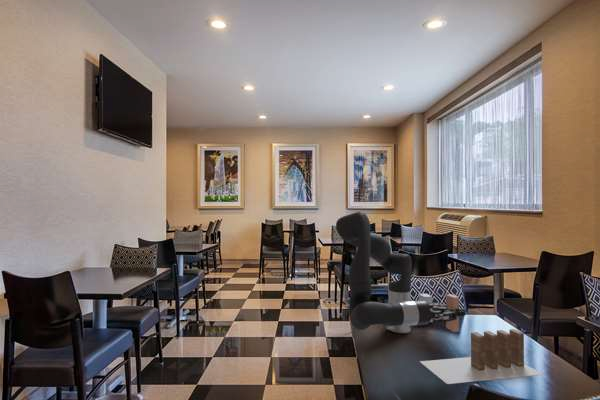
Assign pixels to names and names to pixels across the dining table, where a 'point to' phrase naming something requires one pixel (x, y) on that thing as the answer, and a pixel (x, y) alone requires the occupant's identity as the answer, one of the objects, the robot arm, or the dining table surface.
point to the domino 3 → (504, 348)
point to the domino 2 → (491, 349)
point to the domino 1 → (477, 351)
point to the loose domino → (451, 303)
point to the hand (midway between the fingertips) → (460, 310)
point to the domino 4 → (517, 347)
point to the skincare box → (426, 299)
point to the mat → (473, 371)
